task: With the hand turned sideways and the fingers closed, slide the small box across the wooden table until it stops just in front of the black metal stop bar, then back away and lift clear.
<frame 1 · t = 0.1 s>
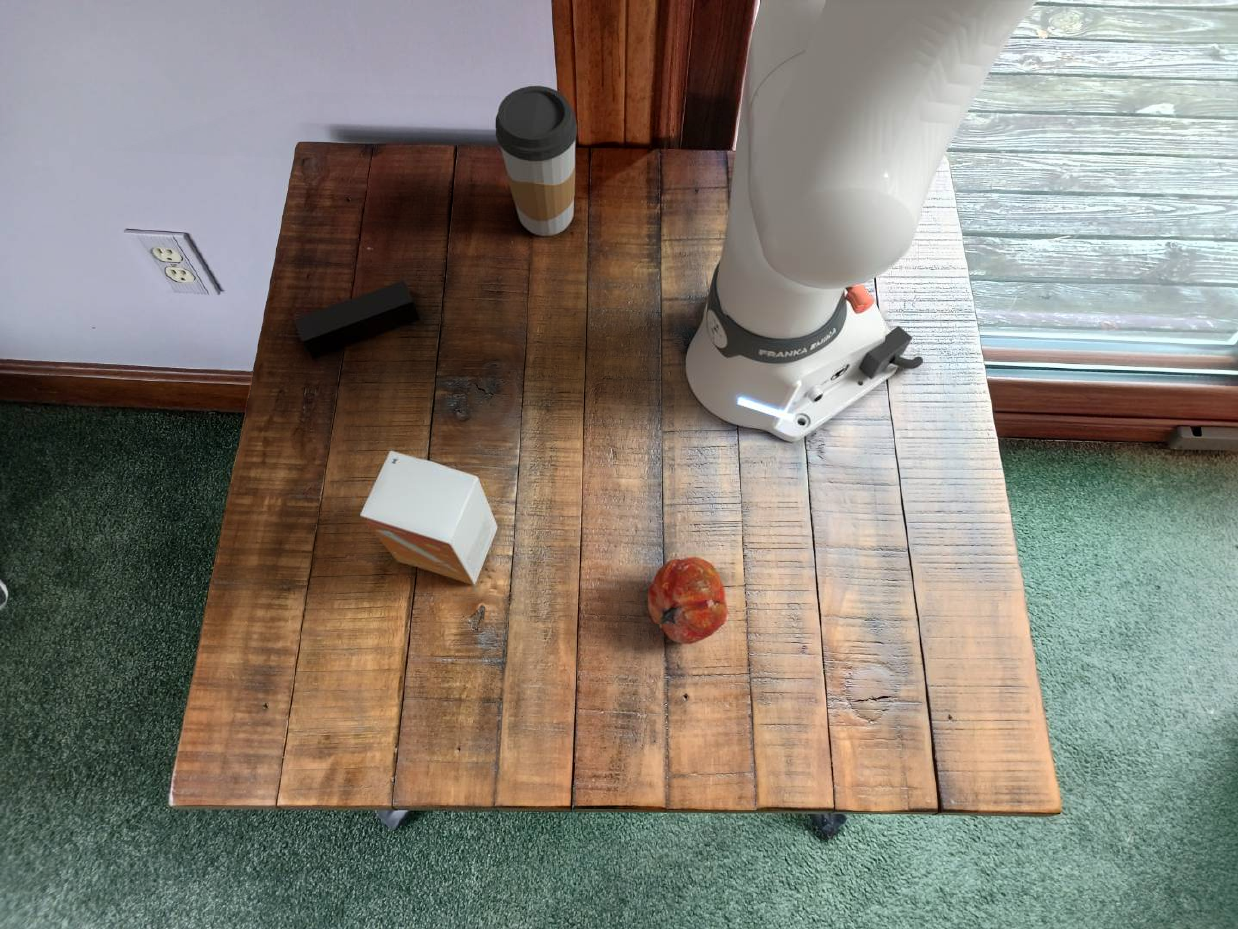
small box: (449, 545, 78), on the table
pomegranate: (686, 607, 75), on the table
stop bar: (363, 328, 87), on the table
coffee cup: (546, 217, 94), on the table
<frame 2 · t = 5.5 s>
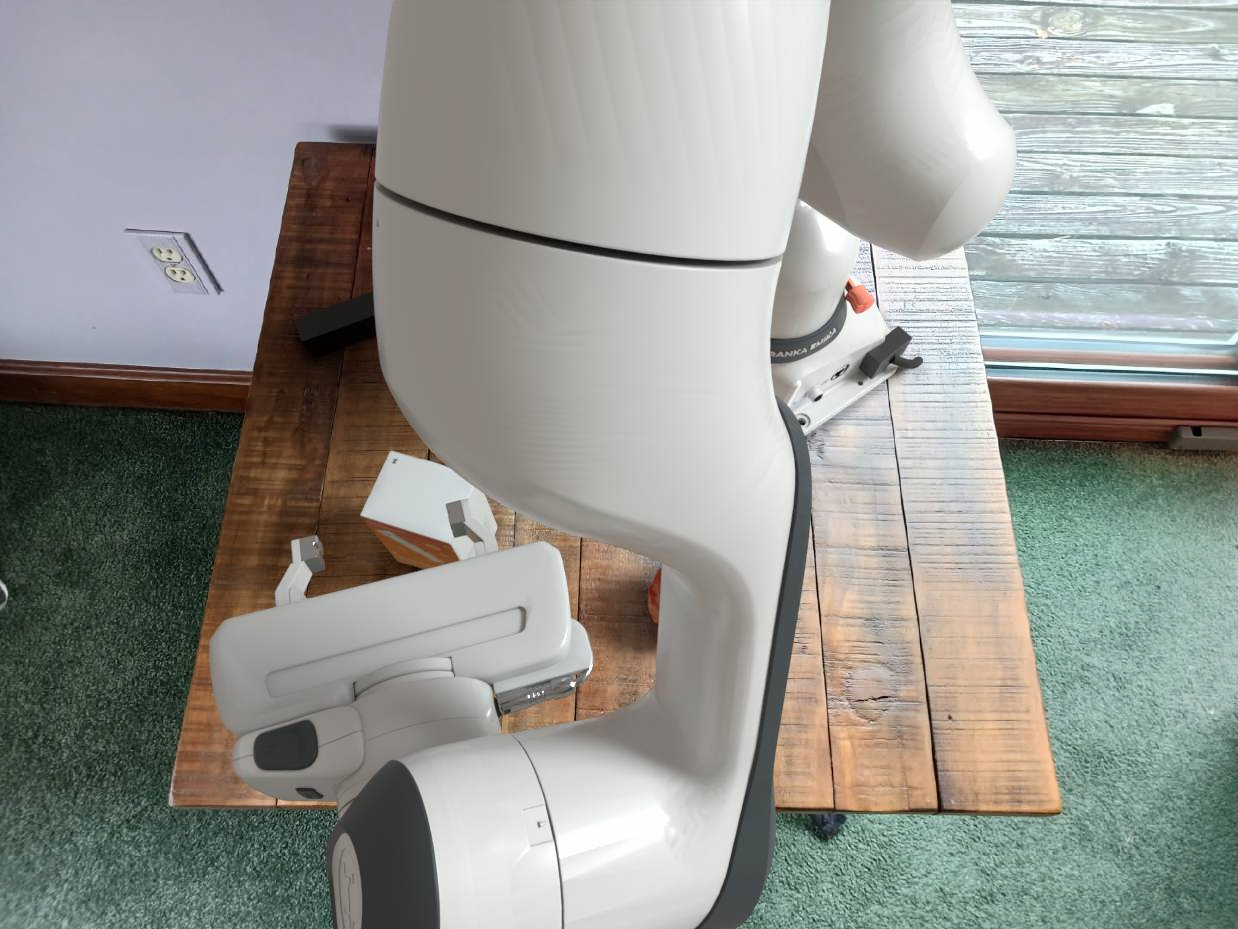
hand: (383, 522, 51), 26 cm above the table, tool horizontal, fingers open, 8 cm apart
nothing on the table moved.
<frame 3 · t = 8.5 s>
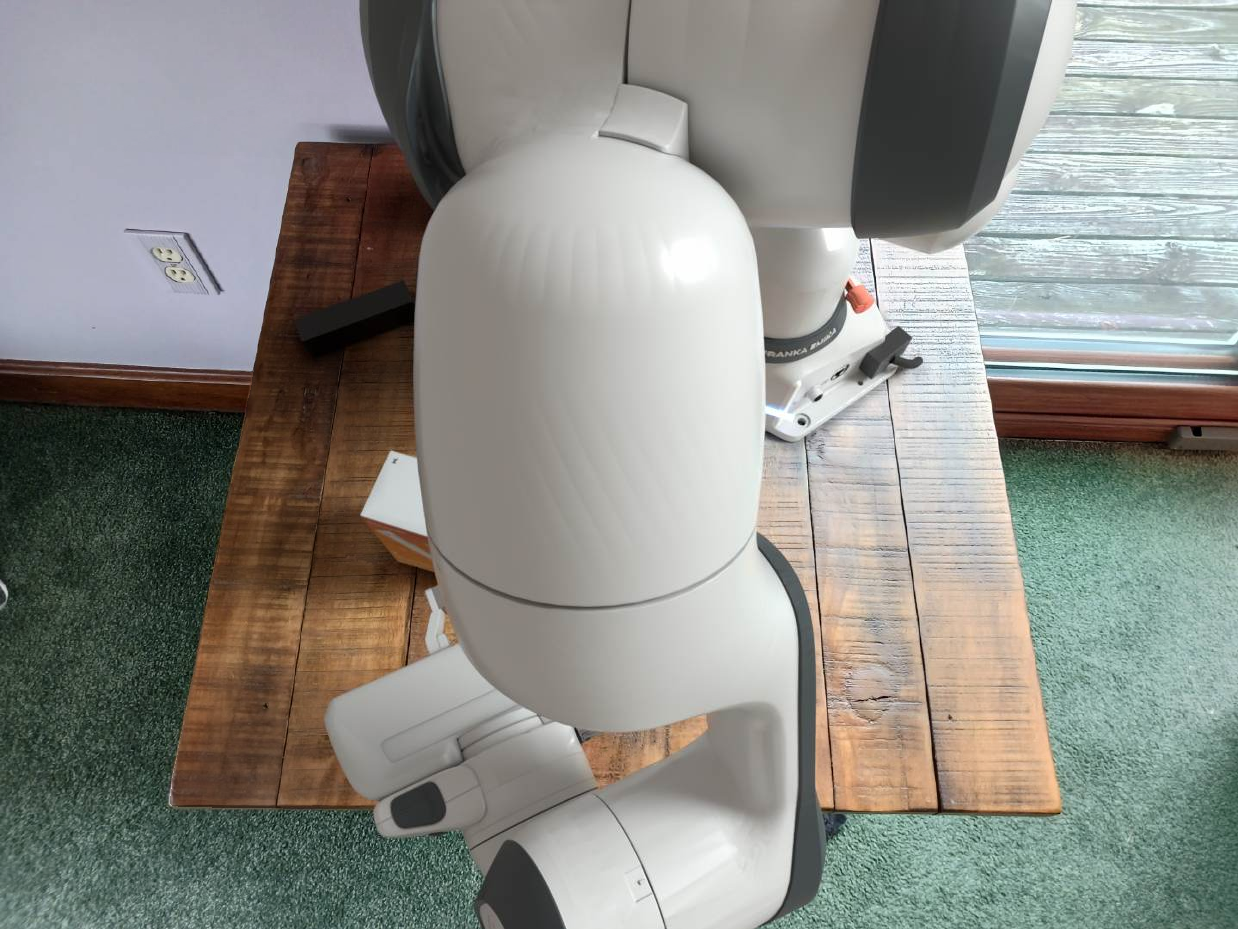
hand: (445, 584, 57), 18 cm above the table, tool horizontal, fingers closed
nothing on the table moved.
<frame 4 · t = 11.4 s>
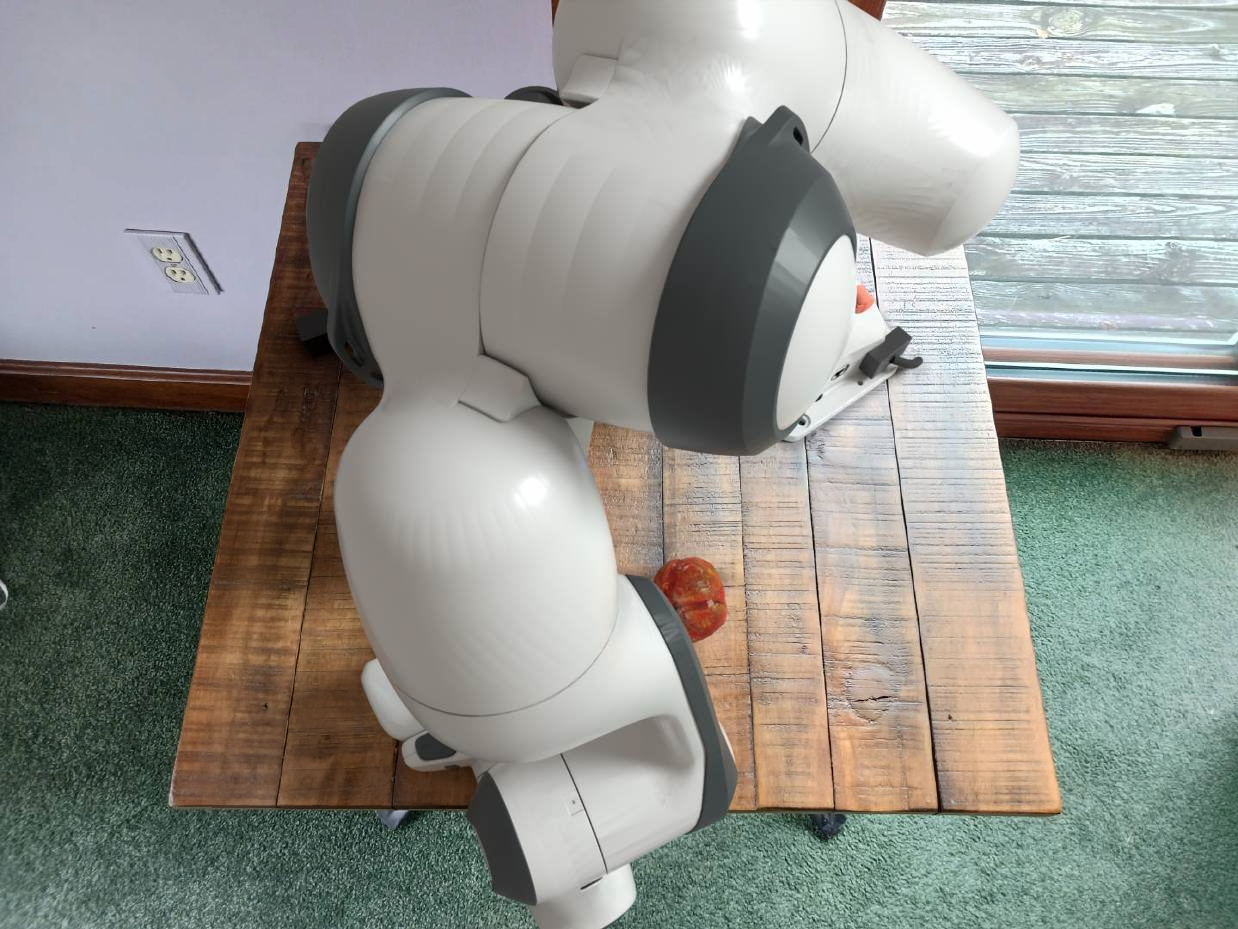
hand: (455, 571, 71), 6 cm above the table, tool horizontal, fingers closed
small box: (448, 544, 78), on the table, touching gripper
everything else where it was.
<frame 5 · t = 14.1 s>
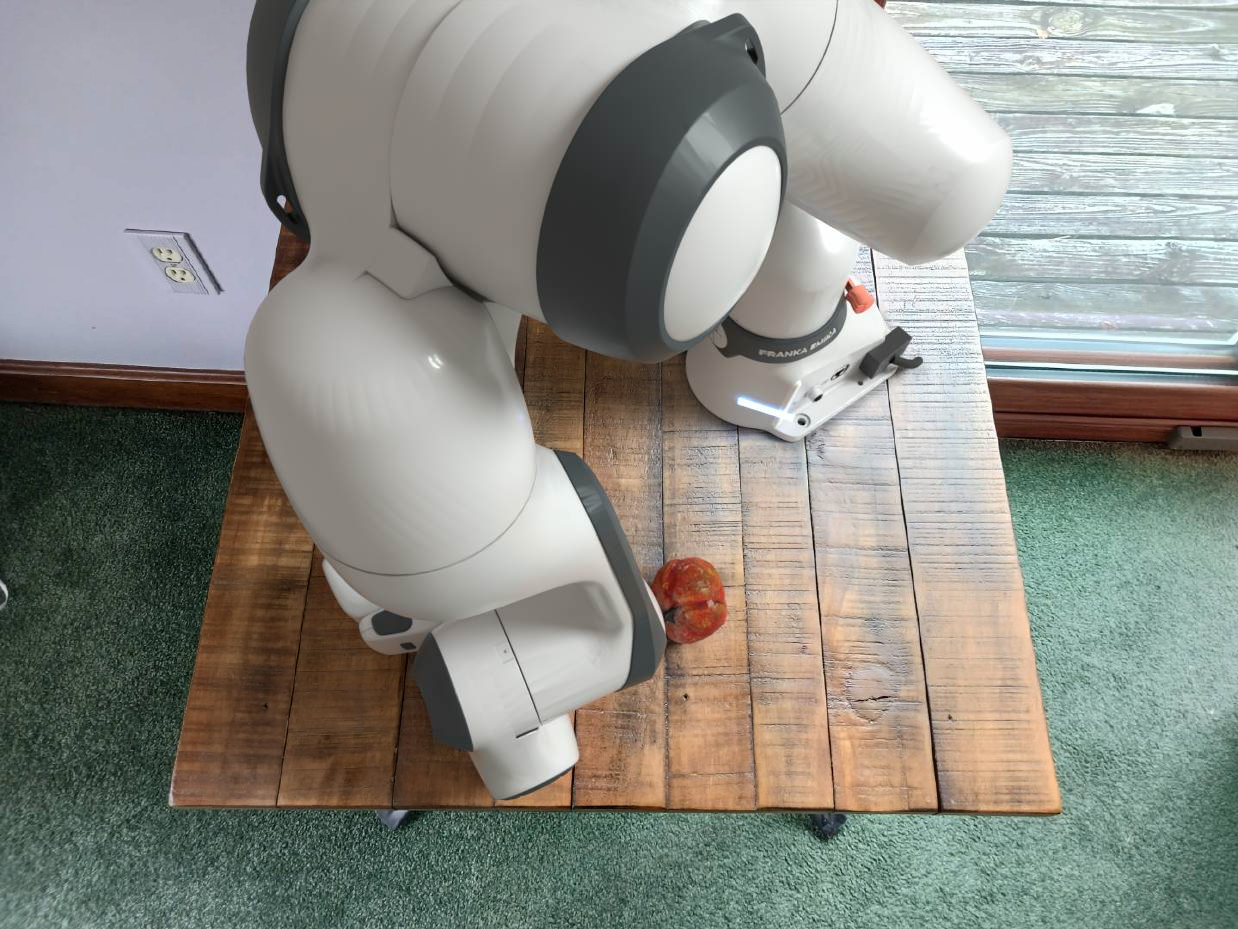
hand: (414, 471, 74), 6 cm above the table, tool horizontal, fingers closed
small box: (405, 459, 81), on the table, touching gripper
everything else where it was.
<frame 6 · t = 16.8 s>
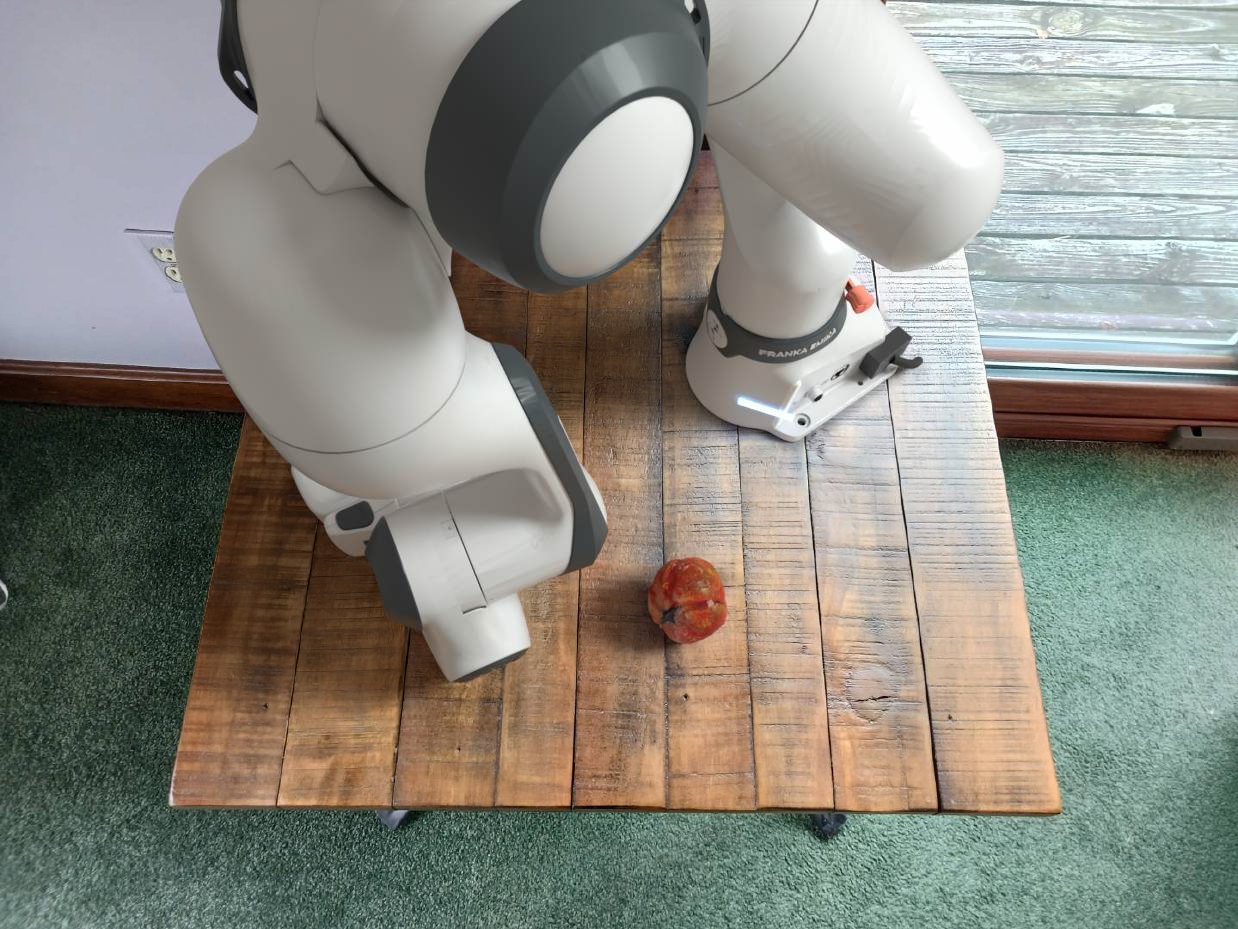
hand: (381, 386, 78), 6 cm above the table, tool horizontal, fingers closed
small box: (366, 392, 84), on the table, touching gripper
everything else where it was.
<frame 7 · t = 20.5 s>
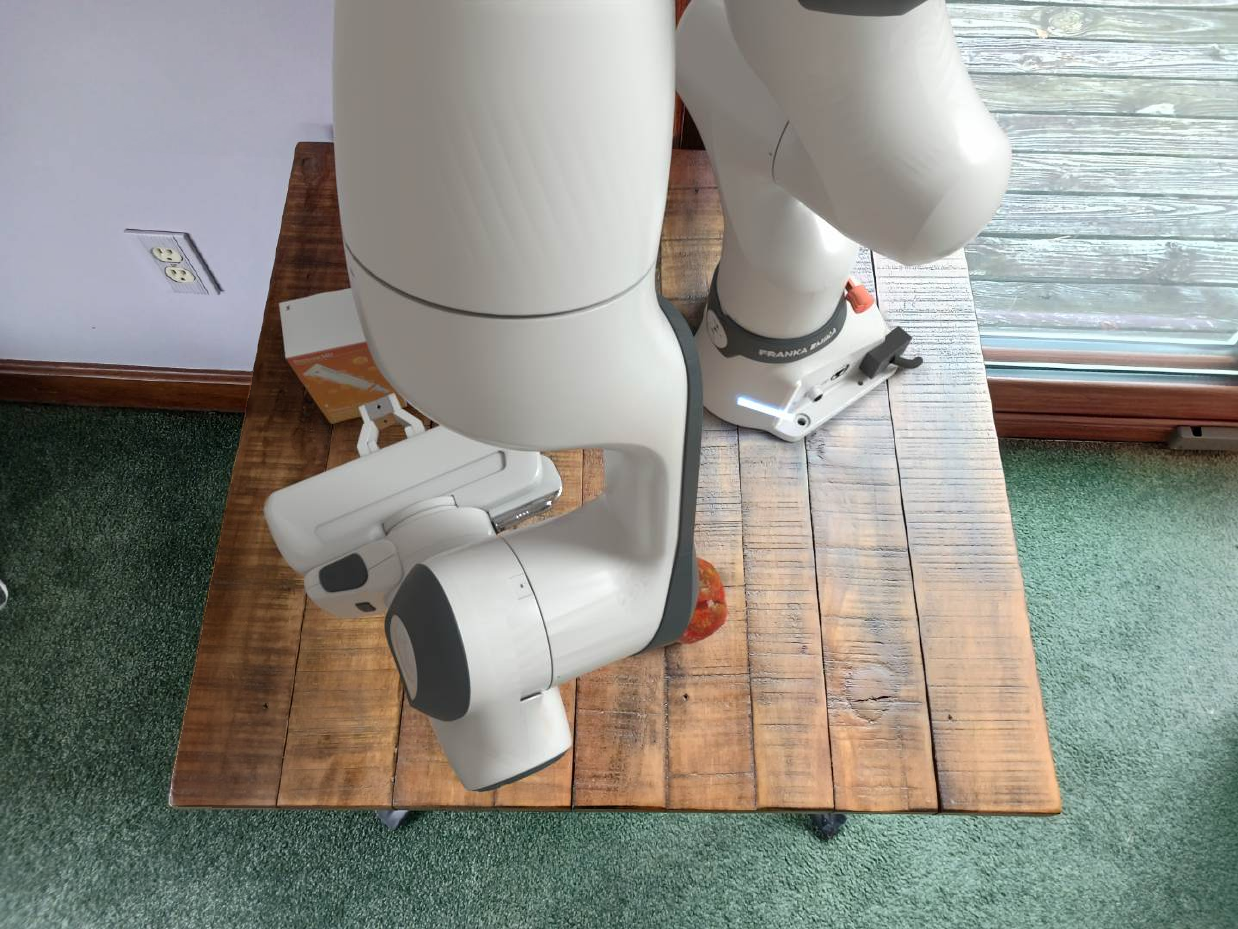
hand: (378, 402, 63), 19 cm above the table, tool horizontal, fingers closed
small box: (366, 392, 84), on the table
everything else where it was.
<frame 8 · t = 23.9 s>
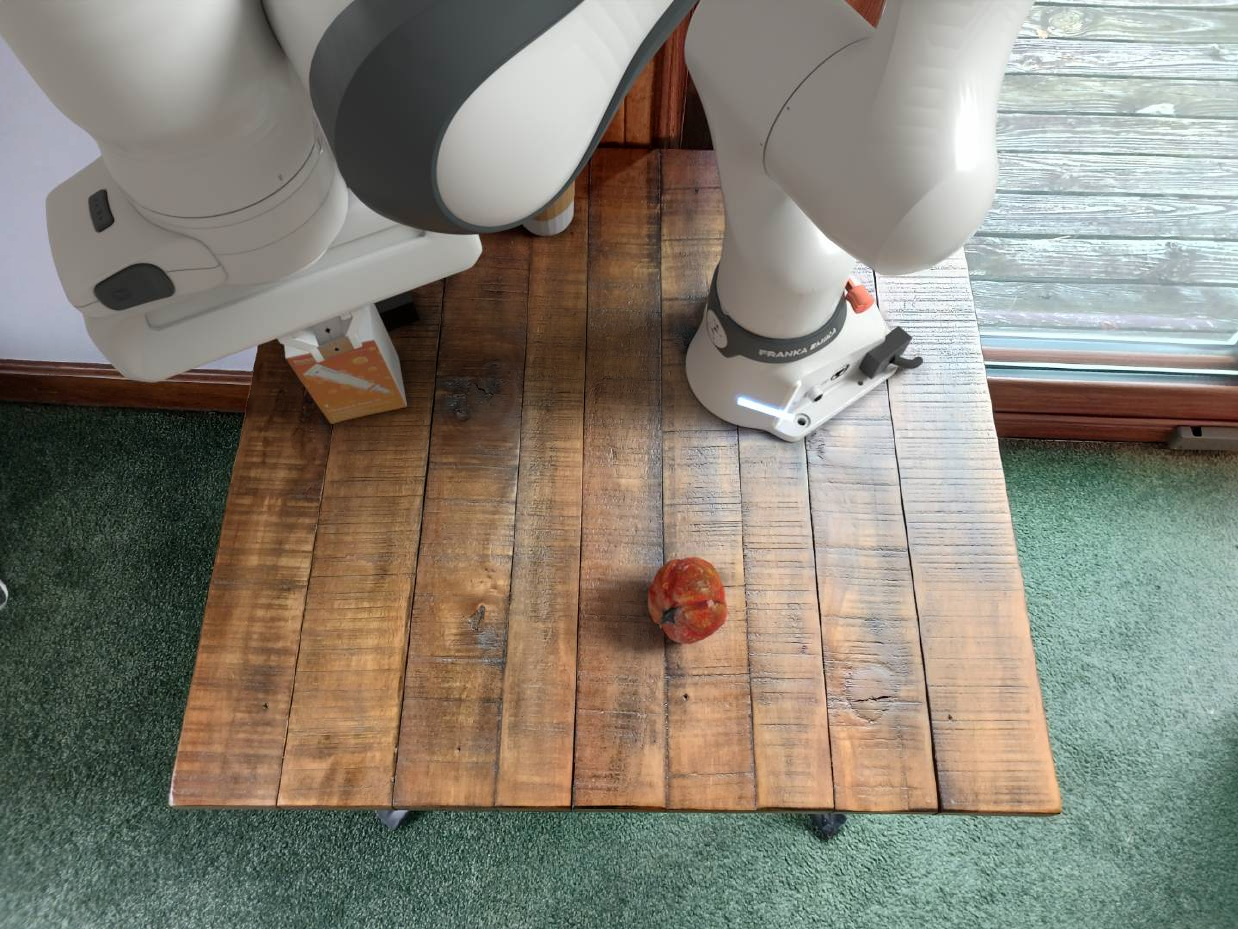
hand: (337, 346, 50), 31 cm above the table, tool pointing down, fingers closed
nothing on the table moved.
at the end: small box inside the target area on the table beside the stop bar (2.2 cm from its centre), on the table; small box tilted 0°; small box moved 19.6 cm from its start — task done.
